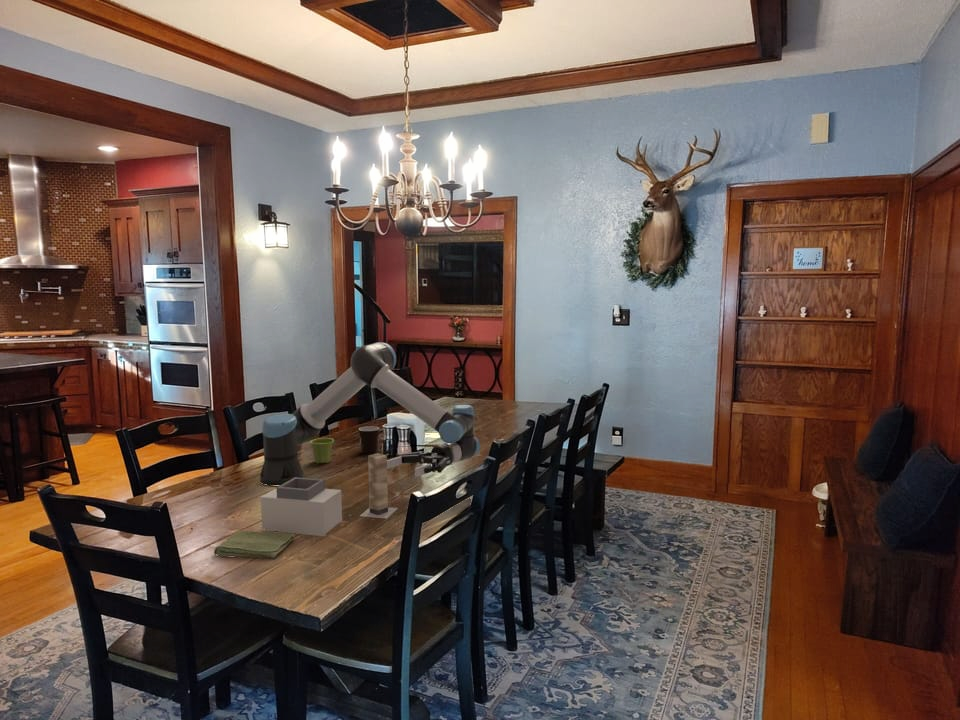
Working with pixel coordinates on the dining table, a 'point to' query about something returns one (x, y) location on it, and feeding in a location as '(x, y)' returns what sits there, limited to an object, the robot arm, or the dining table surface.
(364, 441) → the coffee mug
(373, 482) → the beige tall cylinder
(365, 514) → the white paper sheet
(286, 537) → the washcloth
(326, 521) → the switch box
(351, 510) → the dining table surface
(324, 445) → the plant pot
